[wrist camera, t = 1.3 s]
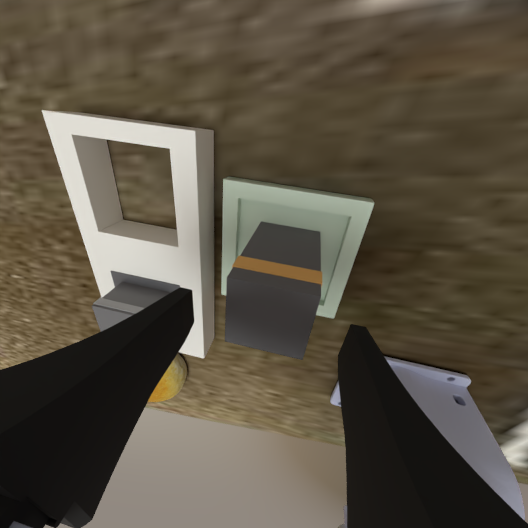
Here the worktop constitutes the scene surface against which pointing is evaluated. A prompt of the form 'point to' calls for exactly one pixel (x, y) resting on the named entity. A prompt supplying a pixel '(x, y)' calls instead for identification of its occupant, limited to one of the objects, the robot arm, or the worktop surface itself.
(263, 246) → the plug
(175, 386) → the bread roll
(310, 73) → the worktop surface
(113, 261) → the strip
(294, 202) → the tray
